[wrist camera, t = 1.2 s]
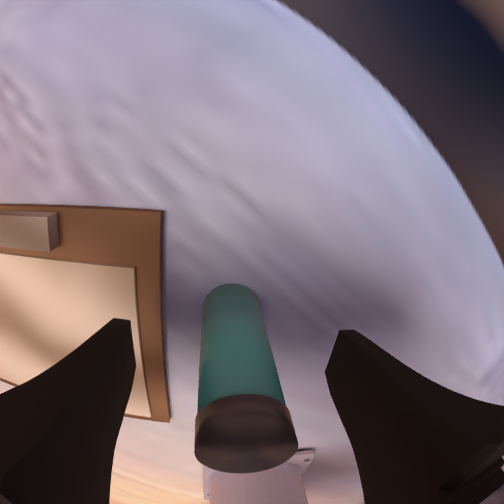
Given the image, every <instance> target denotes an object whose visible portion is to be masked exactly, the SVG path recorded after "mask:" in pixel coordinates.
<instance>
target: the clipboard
mask: <svg viewBox="0 0 504 504" xmlns="http://www.w3.org/2000/svg"><path fill="white" fill-rule="evenodd" d="M162 213H163V210H149V209H132V208H114V207H92V206H66V205H26V204H0V380H1V381H3V382H6V383H8V384H11V385H13V386H16V387H17V386H19V385H21V384H23V383H25V382H27V381H29V380H30V379H32V378H34V377H36V376H37V375H39V374H41V373H42V372H44V371H45V370H47V369H49V368H50V367H52V366H53V365H55V364H56V363H57V362H59V361H60V360H61V359H63V358H64V357H65V356H67V355H68V354H69V353H71V352H72V351H74V350H75V349H76V348H77V347H79V346H80V345H81V344H82V343H84V342H85V341H86V340H87V339H88V338H90V337H91V336H92V335H93V334H95V333H96V332H97V331H98V330H99V329H101V328H102V327H103V326H104V325H105V324H107V323H108V322H109V321H110V320H112V319H113V318H119V319H126V320H131V329H132V337H133V345H134V352H135V359H136V370H135V376H134V381H133V387H132V391H131V394H130V398H129V401H128V404H127V407H126V411H125V414H124V416H125V417H131V418H137V419H144V420H151V421H159V422H168V423H169V422H170V413H169V405H168V395H167V385H166V374H165V362H164V347H163V328H162V299H161V242H162Z"/></svg>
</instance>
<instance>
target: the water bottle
mask: <svg viewBox="0 0 504 504" xmlns="http://www.w3.org/2000/svg"><path fill="white" fill-rule="evenodd" d="M297 449H298V441H297V437H296V434H295V430H294V426H293V423H292V419H291V415H290V412H289V410H288V408H287V407H286V404H285V400H284V396H283V392H282V389H281V385H280V381H279V377H278V373H277V369H276V366H275V362H274V358H273V354H272V350H271V346H270V343H269V339H268V335H267V331H266V327H265V323H264V319H263V316H262V312H261V308H260V304H259V300H258V298H257V296H256V295H255V294H254V292H253V291H252V290H250V289H249V288H247V287H245V286H242V285H239V284H226V285H222V286H219V287H217V288H215V289H214V290H212V291H211V292H210V293H209V294H208V296H207V297H206V299H205V302H204V307H203V320H202V334H201V350H200V367H199V388H198V413H197V416H196V420H195V451H194V453H195V456H196V458H197V460H198V461H199V462H200V463H202V464H203V465H205V466H206V467H208V468H211V469H213V470H217V471H221V472H226V473H239V474H242V473H254V472H260V471H265V470H268V469H271V468H274V467H277V466H279V465H281V464H283V463H285V462H286V461H288V460H289V459H290V458H291V457H292V456H293V455H294V454H295V453H296V451H297Z"/></svg>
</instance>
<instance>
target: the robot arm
mask: <svg viewBox="0 0 504 504" xmlns="http://www.w3.org/2000/svg"><path fill="white" fill-rule="evenodd" d="M135 370H136V359H135V352H134V345H133V337H132V329H131V320H126V319H119V318H113V319H112V320H110V321H109V322H108V323H107V324H105V325H104V326H103V327H102V328H101V329H99V330H98V331H97V332H96V333H95V334H93V335H92V336H91V337H90V338H88V339H87V340H86V341H85V342H84V343H82V344H81V345H80V346H79V347H77V348H76V349H75V350H74V351H72V352H71V353H69V354H68V355H67V356H65V357H64V358H63V359H61V360H60V361H59V362H57V363H56V364H55V365H53V366H52V367H50V368H49V369H47V370H45V371H44V372H42V373H41V374H39V375H37V376H36V377H34V378H32V379H30V380H29V381H27V382H25V383H23V384H21V385H19V386H17V387H14V388H12V389H10V390H8V391H6V392H4V393H2V394H0V504H109V498H110V483H111V472H112V464H113V457H114V450H115V445H116V441H117V437H118V434H119V430H120V427H121V424H122V420H123V417H124V414H125V411H126V407H127V404H128V401H129V398H130V394H131V391H132V387H133V381H134V376H135ZM325 374H326V379H327V383H328V387H329V390H330V394H331V397H332V399H333V402H334V404H335V407H336V409H337V411H338V414H339V416H340V418H341V421H342V423H343V425H344V428H345V430H346V433H347V435H348V437H349V440H350V442H351V445H352V448H353V451H354V454H355V458H356V462H357V466H358V470H359V474H360V479H361V483H362V488H363V494H364V501H365V504H504V472H503V470H502V469H501V467H502V466H503V465H504V460H503V459H502V456H503V455H504V406H501V405H495V404H491V403H487V402H483V401H479V400H476V399H473V398H470V397H467V396H464V395H462V394H459V393H457V392H454V391H452V390H449V389H447V388H445V387H443V386H441V385H439V384H437V383H435V382H433V381H431V380H429V379H427V378H426V377H424V376H422V375H421V374H419V373H417V372H416V371H414V370H412V369H411V368H409V367H408V366H406V365H405V364H403V363H402V362H400V361H399V360H397V359H396V358H394V357H393V356H392V355H390V354H389V353H387V352H386V351H385V350H383V349H382V348H380V347H379V346H378V345H376V344H375V343H373V342H372V341H371V340H369V339H368V338H366V337H365V336H363V335H362V334H360V333H359V332H357V331H355V330H339V333H338V336H337V339H336V342H335V345H334V348H333V351H332V354H331V356H330V359H329V362H328V365H327V367H326V370H325ZM314 457H315V452H314V451H313V450H307V451H298V452H296V453H295V454H294V455H293V456H292V457H291V458H290V459H289V460H288V461H286V462H285V463H283V464H281V465H279V466H277V467H274V468H271V469H268V470H265V471H260V472H254V473H242V474H239V473H226V472H221V471H217V470H213V469H211V468H208V467H206V466H205V465H204V499H206V500H210V504H308V500H307V496H306V492H305V489H304V485H303V481H302V476H303V474H304V473H305V471H306V470H307V468H308V466H309V465H310V463H311V462H312V460H313V458H314Z"/></svg>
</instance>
